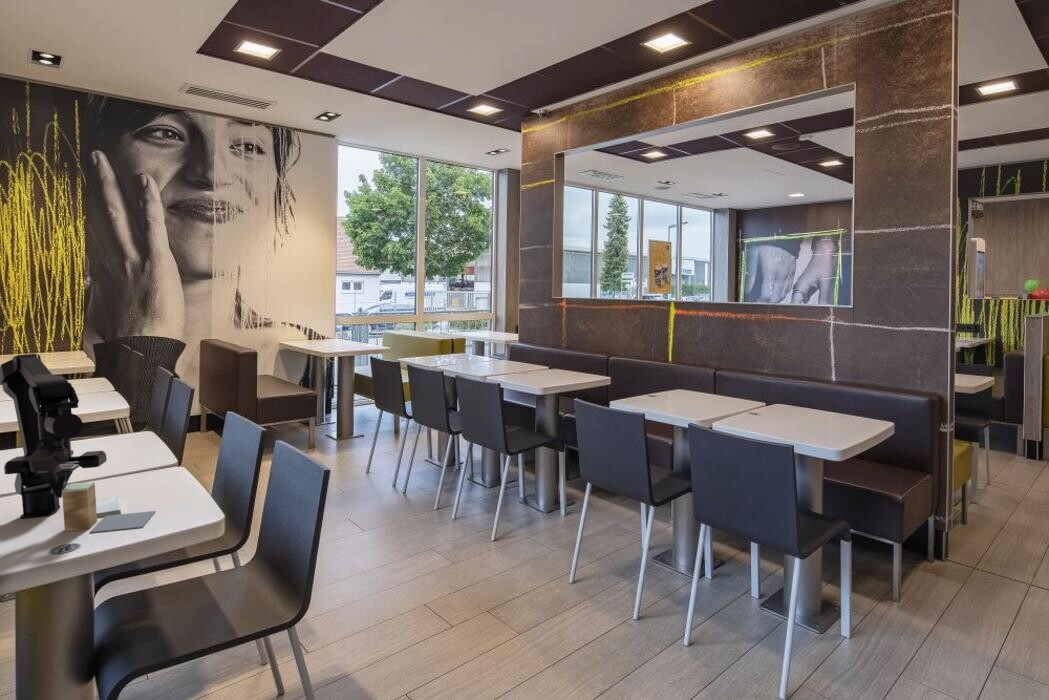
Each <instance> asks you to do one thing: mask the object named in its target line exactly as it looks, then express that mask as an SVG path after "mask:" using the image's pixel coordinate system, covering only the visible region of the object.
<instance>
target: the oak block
mask: <svg viewBox="0 0 1049 700" xmlns="http://www.w3.org/2000/svg"><path fill="white" fill-rule="evenodd" d="M61 498H62V508H63V509H62V510H63V524H64V525H63V526H64V532H74V531H86V530H90V529H92V527H93V526H95V525H96V523H97V522H98V518H97V513H96V500H97V499H96V498H97V497H96V483H95V481H91V482H77V483H70V484H67V486H66V488H64V489H63V490H62V497H61Z"/></svg>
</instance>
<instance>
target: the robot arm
mask: <svg viewBox="0 0 1049 700" xmlns="http://www.w3.org/2000/svg"><path fill="white" fill-rule="evenodd" d="M0 384H1V386H2V390H3V392H4V393H5V394H6V395H7V396H8V397H9V398H11V399H12V400H13V404H14V410H15V414H16V419H17V424H18V429H19V434H20V440H21V444H22V450H23V456H22V455H21V456H15V457H13V458H11V459H9V460H7V461H6V462H5V463H4V467H3V468H4V469H3V470H4V474H5V475H15V474H16V476H15V481H14V488H15V489H14V490H15V493H17V494H18V495H20V496H21V499H22V501H21V502H22V503H21V504H22V505H21V506H22V511H23V512H22V514H21V515H20V517H19V518H20V519H23V518H24V519H25V518H26V519H27V518H34V517H35V518H36V517H45V516H51V515H52V514H53V513H55V512H56V511H57V510H59V509H60V508H61V505H60V499H62V498H63V497H62V490H63V489H64V488H66V487H67V486H68V483H69V480H70V478H71V476H72V474H73V472H74V471H75V470H77V469H78V468H82V469H91V468H98V467H101V466H102V465H103V464H105V463H106V462H107V453H106V452H105V451H104V450H91V451H85V452H84V453H83V454H81V455H77V456H73V455H74V450H72V445H71V443H72V442H71V439H72V438H73V439H74V438H75V437H76V436H78V435H79V434H80V433H81V432H82V430H83V427H84V426H83V425H84V423H83V421H82V418H80V416H78V415H77V414H74V413H72V409H77V408H79V401H80V400H79V398H78V395H77V392H76V390H75V388H74V386H73V385H72V383H71V382H69V381H68V379H67V378H65V377H63V376H62V375H57V374H53V372H51V371H50V370H49V368H48V367H47V365H45V364H44V363H43V361H42V359H41V355H40V354H36V353H26V354H17V355H14V356H13V357H12V359H10V360H7V361H6V362H4V363H1V364H0Z"/></svg>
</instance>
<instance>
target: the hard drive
mask: <svg viewBox="0 0 1049 700" xmlns="http://www.w3.org/2000/svg"><path fill="white" fill-rule="evenodd" d="M96 513H97V519H98V518H104V517H105V516H109V515H119V514H122V509H121V499H120V497H119V496H117V497H110V498H102V499H96Z"/></svg>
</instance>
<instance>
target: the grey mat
mask: <svg viewBox="0 0 1049 700" xmlns="http://www.w3.org/2000/svg"><path fill="white" fill-rule="evenodd" d="M155 513H156V510H152V511H150V510H149V511H142V512H141V511H139V512H130V513H121V514H115V515H109V516H104V517H102V519H101V520H100V521H99V522H98V523H97V524H95V525H94V527H93V528H91V530H90V531H89V534H95V533H105V532H112V531H113V532H115V531H124V530H132V529H133V530H134V529H143V528H144V527H145V526H146V525H147V523H148V522H149V521H150V520H151V518H152V517H153V516H154V515H155Z"/></svg>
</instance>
